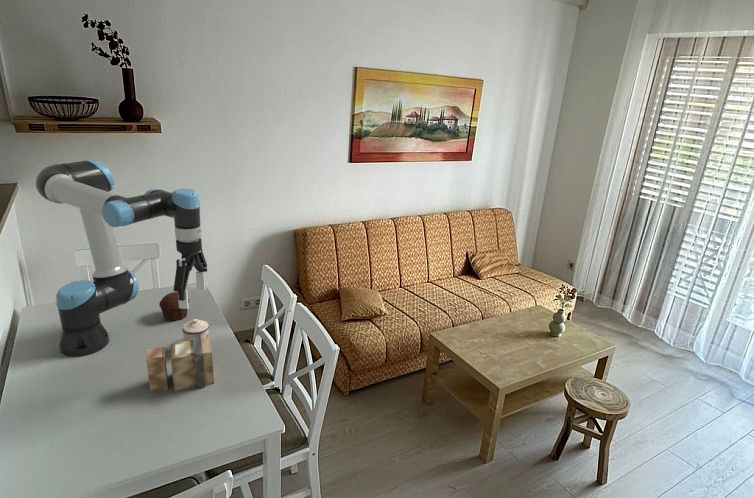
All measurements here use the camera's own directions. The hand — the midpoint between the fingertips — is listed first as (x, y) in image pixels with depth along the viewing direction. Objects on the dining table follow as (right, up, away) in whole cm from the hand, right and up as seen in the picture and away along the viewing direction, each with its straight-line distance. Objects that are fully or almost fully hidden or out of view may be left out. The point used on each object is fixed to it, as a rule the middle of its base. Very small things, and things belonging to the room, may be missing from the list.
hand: (192, 298), depth 151 cm
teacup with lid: (-6, -20, +19) cm, 28 cm away
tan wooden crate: (0, -27, 0) cm, 27 cm away
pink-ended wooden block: (-9, -28, -4) cm, 29 cm away
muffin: (-22, -12, +38) cm, 45 cm away
